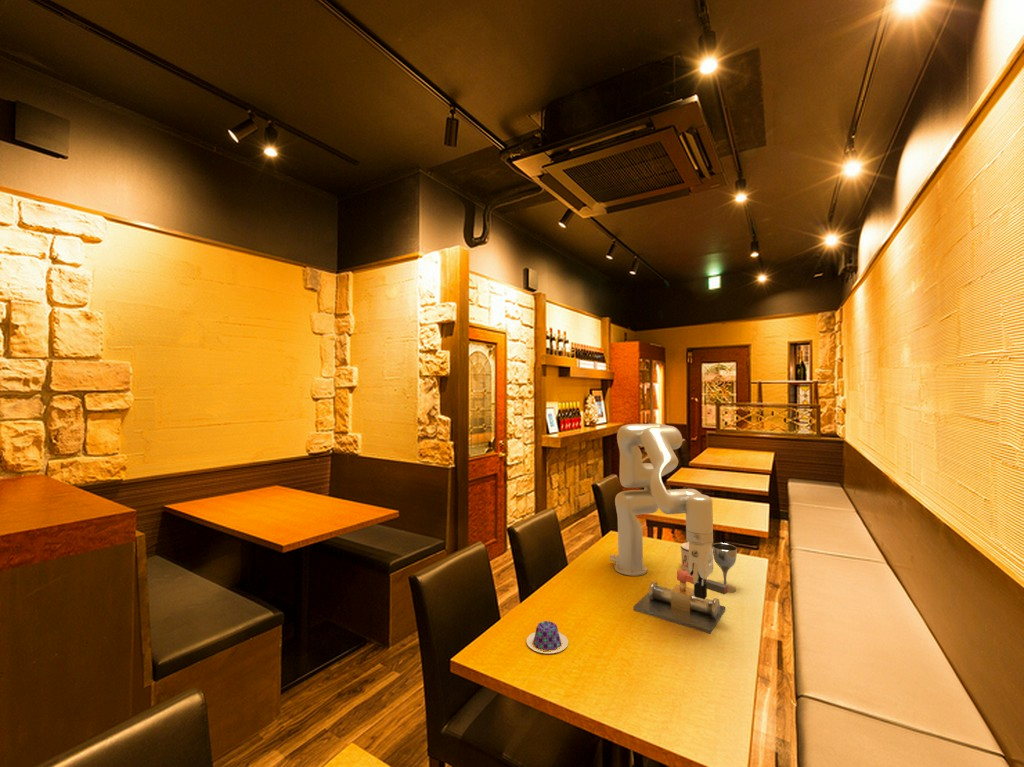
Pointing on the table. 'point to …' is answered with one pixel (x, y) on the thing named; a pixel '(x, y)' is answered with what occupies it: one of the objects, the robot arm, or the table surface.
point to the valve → (681, 607)
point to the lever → (711, 585)
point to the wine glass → (725, 559)
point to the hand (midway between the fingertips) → (700, 596)
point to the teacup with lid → (685, 555)
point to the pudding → (547, 638)
